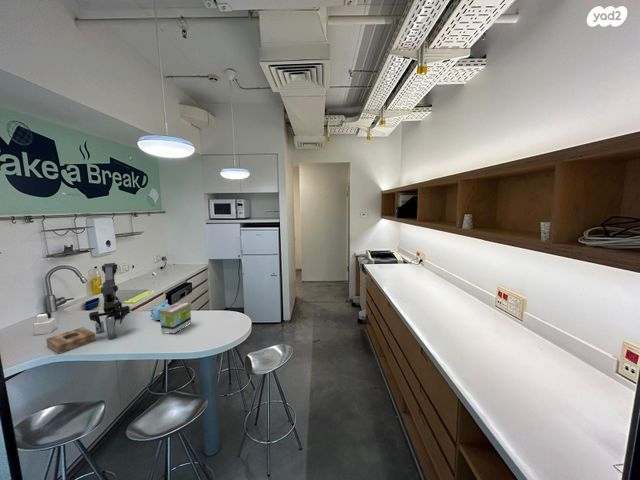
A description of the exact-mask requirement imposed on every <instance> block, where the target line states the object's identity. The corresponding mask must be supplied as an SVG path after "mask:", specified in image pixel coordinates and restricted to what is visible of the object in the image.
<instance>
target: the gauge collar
mask: <svg viewBox="0 0 640 480" xmlns="http://www.w3.org/2000/svg"><path fill="white" fill-rule="evenodd" d="M95 341H97V339H96V332H93V331H91V330H90V329H87V328H86V327H84V326H82V327H79V328H76V329H72V330H70V331H67V332H66V331H65V332H63V333H60V334H57V335H53V336H50V337H47V338H46V346H47V348H49V349H51V350H52V351H53V352H55V353H56V354H58V355H60V354H62V353H63V354H64V353H65V352H68V351H71V350H75V349H77V348H79V347H82V346H85V345H88V344H91V343H93V342H95Z"/></svg>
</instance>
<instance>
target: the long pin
mask: <svg viewBox="0 0 640 480" xmlns="http://www.w3.org/2000/svg"><path fill="white" fill-rule="evenodd" d="M105 324H106V333H107V335H106V336H107V340H108V341H109V340H110V341H111V340H114V339H116V338H117V329H116V320H115V318H114V316H109V317H107V316H106V317H105Z"/></svg>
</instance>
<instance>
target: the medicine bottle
mask: <svg viewBox="0 0 640 480" xmlns="http://www.w3.org/2000/svg"><path fill="white" fill-rule="evenodd" d="M57 328H58V327H57V322H56V317H54V318H53V317H52V314H51V312H50V311H45V312H41V313H39V314H36V322H35V323H33V331H34V335H35V336H40V334H41V335H46V334H47V335H48V334H51V333H52V332H53V331H55V330H56V329H57Z"/></svg>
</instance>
